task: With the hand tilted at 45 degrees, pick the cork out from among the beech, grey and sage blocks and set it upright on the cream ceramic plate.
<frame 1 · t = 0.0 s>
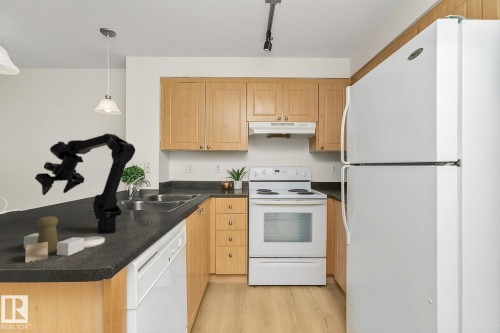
hand: (54, 193, 113), 15 cm above the worktop, tool tilted 35°, fingers open, 9 cm apart
sage block: (35, 246, 85), on the worktop
beech block: (37, 258, 74), on the worktop
grey block: (70, 252, 79), on the worktop
cream plate: (87, 243, 88), on the worktop
cork: (47, 250, 81), on the worktop
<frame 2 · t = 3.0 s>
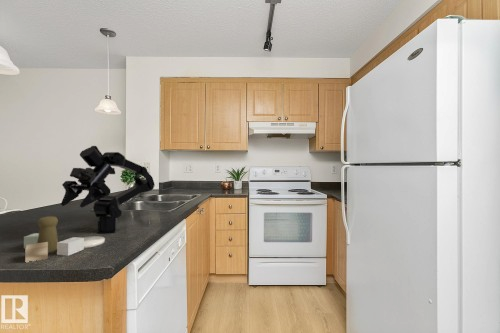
hand: (71, 206, 89), 13 cm above the worktop, tool tilted 45°, fingers open, 9 cm apart
nothing on the worktop moved.
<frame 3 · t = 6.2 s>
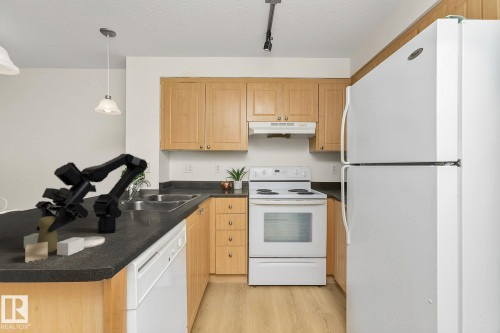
hand: (43, 231, 80), 7 cm above the worktop, tool tilted 45°, fingers closed on cork, 5 cm apart
cork: (47, 250, 81), on the worktop, touching gripper
everything else where it was.
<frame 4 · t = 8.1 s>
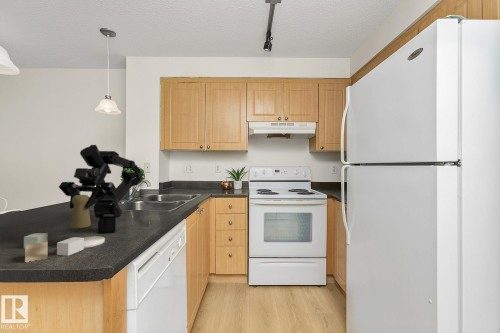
hand: (78, 208, 85), 13 cm above the worktop, tool tilted 45°, fingers closed on cork, 5 cm apart
cork: (81, 226, 87), point 7 cm above the worktop, touching gripper
everything else where it was.
when the fingers open (9 cm above the worktop, at t = 10.1 s): cork drops 1 cm, resting on cream plate.
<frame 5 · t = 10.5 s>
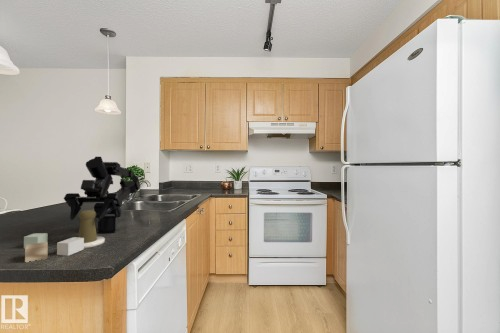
hand: (85, 219, 87), 9 cm above the worktop, tool tilted 45°, fingers open, 9 cm apart
cork: (87, 240, 88), point 1 cm above the worktop, touching cream plate
everything else where it was.
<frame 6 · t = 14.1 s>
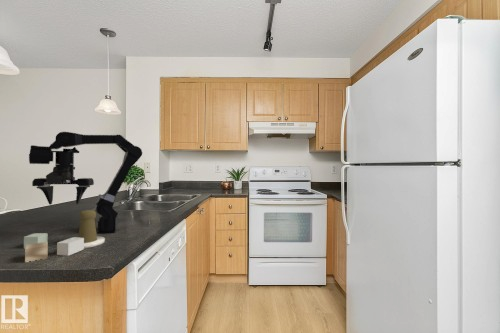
hand: (64, 204, 95), 13 cm above the worktop, tool pointing down, fingers open, 9 cm apart
nothing on the worktop moved.
at the end: cork inside the target area on the cream plate (0.2 cm from its centre), point 0.8 cm above the cream plate's base; cork tilted 0°; the gripper is holding nothing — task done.
